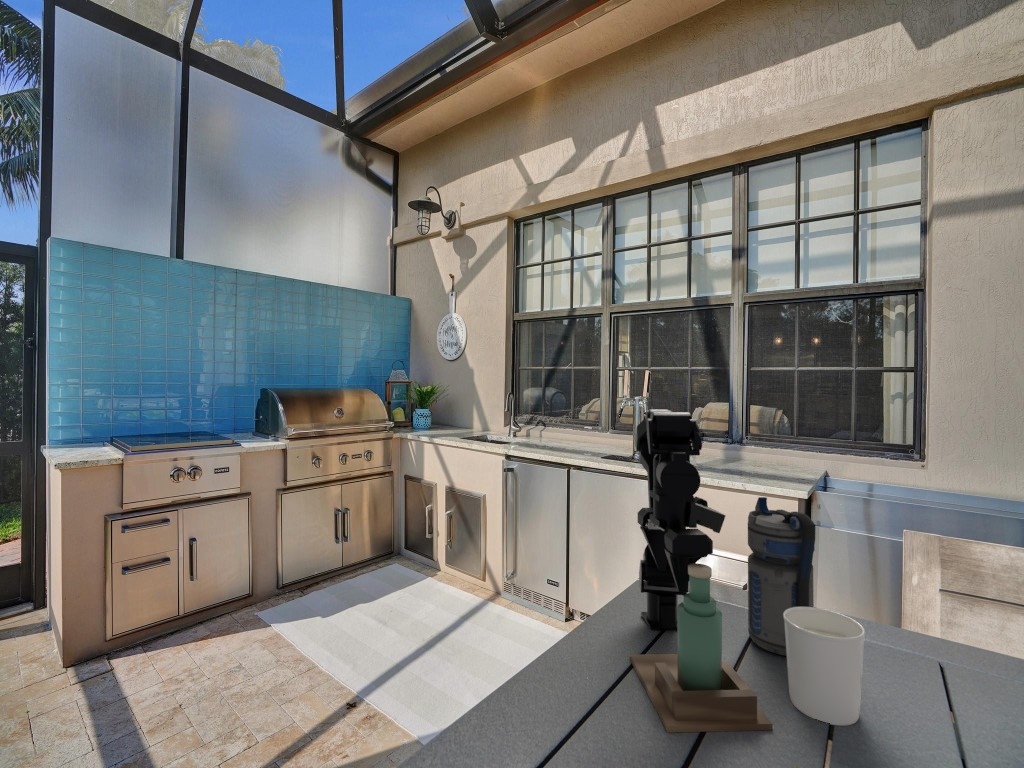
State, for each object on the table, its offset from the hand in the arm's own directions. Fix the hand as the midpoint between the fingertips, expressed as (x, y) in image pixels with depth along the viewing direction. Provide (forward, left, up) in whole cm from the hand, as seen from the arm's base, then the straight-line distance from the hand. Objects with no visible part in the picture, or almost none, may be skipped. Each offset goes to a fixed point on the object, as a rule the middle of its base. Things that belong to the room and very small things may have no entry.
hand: (671, 580), depth 82 cm
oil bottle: (+11, 0, -12) cm, 16 cm away
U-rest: (+9, 0, -13) cm, 16 cm away
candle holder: (+13, +17, -13) cm, 25 cm away
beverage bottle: (-3, +21, -13) cm, 25 cm away
